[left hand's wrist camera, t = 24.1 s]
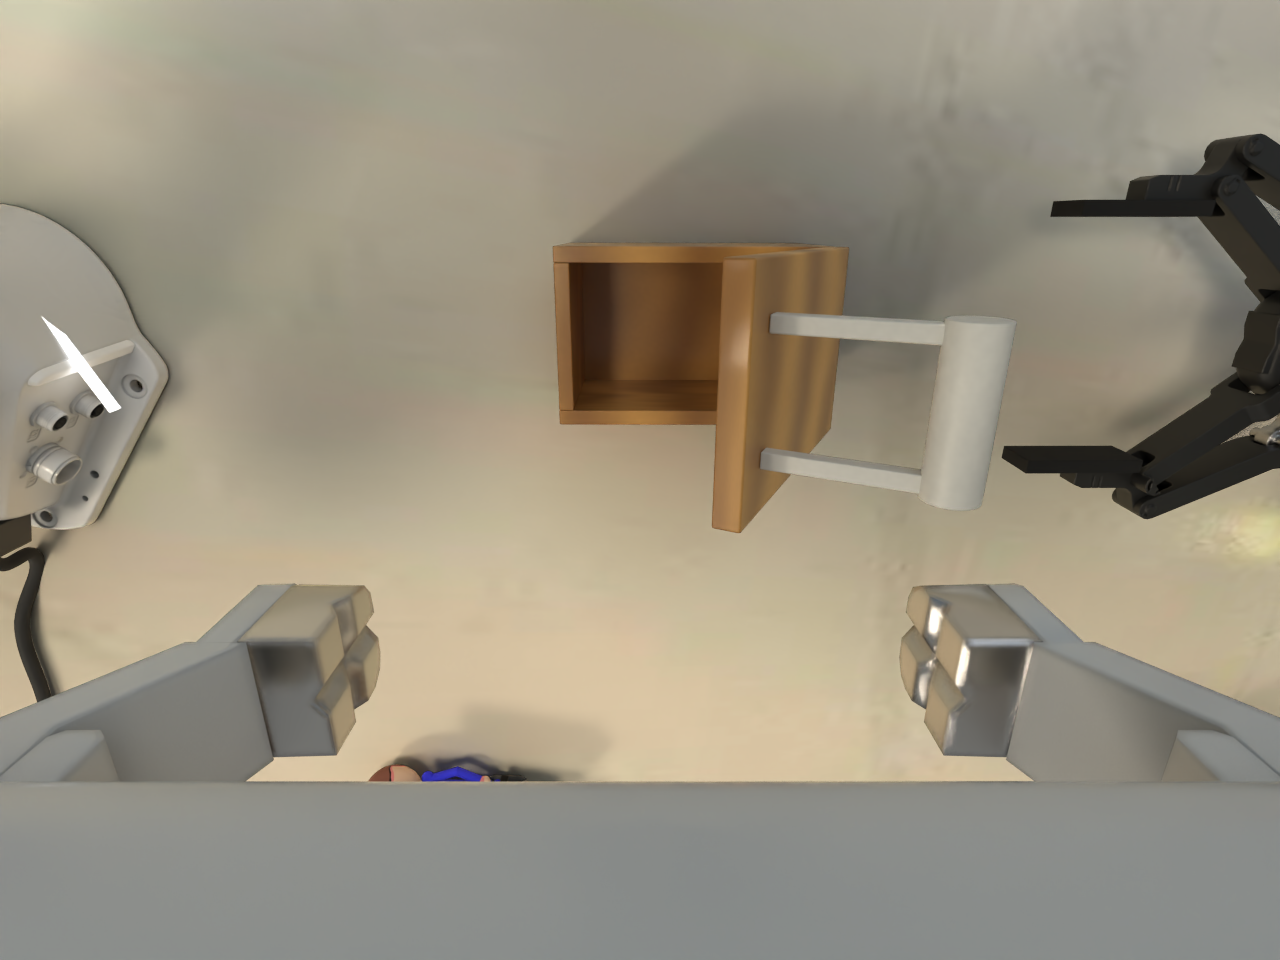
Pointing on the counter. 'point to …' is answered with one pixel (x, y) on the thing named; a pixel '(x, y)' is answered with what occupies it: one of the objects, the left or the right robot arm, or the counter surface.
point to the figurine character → (436, 775)
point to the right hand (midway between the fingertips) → (1038, 342)
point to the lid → (805, 383)
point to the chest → (642, 329)
